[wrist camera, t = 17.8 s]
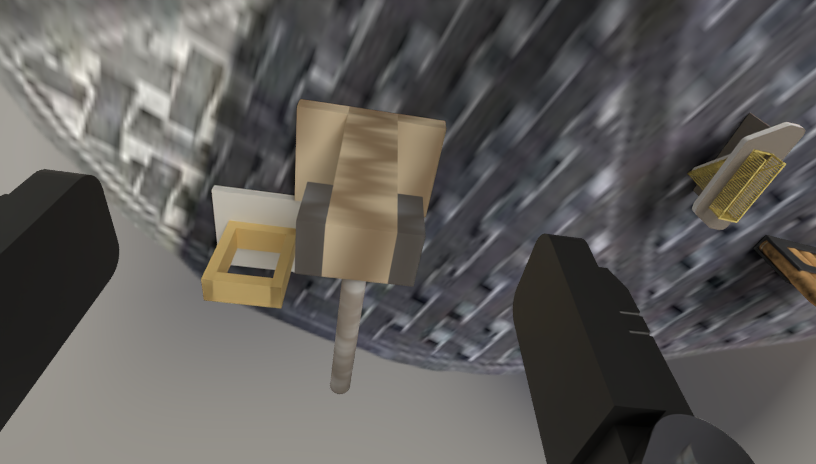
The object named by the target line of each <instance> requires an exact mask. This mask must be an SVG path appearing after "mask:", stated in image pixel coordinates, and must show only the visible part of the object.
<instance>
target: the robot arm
mask: <svg viewBox="0 0 816 464" xmlns="http://www.w3.org/2000/svg"><path fill="white" fill-rule="evenodd" d="M118 259H119V244H118V240H117V236H116V233H115V229H114V226H113V222H112V219H111V216H110V212H109V209H108V205H107V202H106V198H105V195H104V191H103V188H102V185H101V183H100V181H99V180H98V179H97V178H96V177H95V176H92V175H86V174H78V173H70V172H63V171H55V170H47V169H44V170H39V171H37V172H36V173H34V174H33V175H32V176H30V177H29V178H28V179H27V180H25V181H24V182H23V183H22V184H21V185H20V186H18V187H17V188H16V189H14V190H13V191H12V192H11V193H10V194H4V195H2V196H0V431H1V430H2V429H3V427H4V426H5V424H6V423H7V421H8V420H9V419H10V417H11V416H12V415H13V413H14V412H15V410H16V409H17V408H18V406H19V405H20V404H21V402H22V401H23V399H24V398H25V397H26V395H27V394H28V393H29V391H30V390H31V388H32V387H33V386H34V384H35V383H36V381H37V380H38V378H39V377H40V376H41V375H42V373H43V372H44V370H45V369H46V367H47V366H48V365H49V363H50V362H51V361H52V359H53V358H54V357H55V355H56V354H57V352H58V351H59V349H60V348H61V347H62V345H63V344H64V343H65V341H66V340H67V339H68V337H69V336H70V334H71V333H72V332H73V330H74V329H75V327H76V326H77V324H78V323H79V322H80V320H81V319H82V318H83V316H84V315H85V314H86V312H87V311H88V309H89V308H90V307H91V305H92V304H93V302H94V301H95V300H96V298H97V297H98V296H99V294H100V293H101V291H102V290H103V289H104V287H105V286H106V284H107V283H108V282H109V280H110V279H111V277H112V276H113V274H114V272H115V270H116V267H117V263H118ZM639 313H640V311H639V309H638V308H637V306H636V304H635V302H634V300H633V298H632V296H631V294H630V292H629V290H628V289H627V288H626V287H625V286H624V285H623V284H622V283H621V282H620V281H619V280H618V279H617V278H616V277H615V276H614V275H613V274H612V273H611V272H610V270H609V269H608V268H602V267H598V265H597V263H596V261H595V259H594V257H593V254H592V252H591V250H590V248H589V246H588V244H587V242H586V241H585V240H584V239H582V238H575V237H567V236H559V235H551V234H542V235H541V236H540V237H539V238H538V240H537V241H536V244H535V246H534V248H533V251H532V253H531V255H530V258H529V260H528V263H527V265H526V267H525V270H524V272H523V275H522V277H521V279H520V282H519V284H518V287H517V289H516V292H515V296H514V302H513V320H514V325H515V329H516V333H517V338H518V342H519V346H520V350H521V355H522V359H523V363H524V368H525V372H526V376H527V380H528V385H529V389H530V393H531V398H532V402H533V406H534V410H535V415H536V419H537V423H538V428H539V432H540V436H541V440H542V445H543V449H544V453H545V457H546V462H547V464H755V463H754V462H753V461H752V459H751V458H750V457H749V455H748V454H747V453H746V452H745V451H744V449H743V448H742V447H741V446H740V445H739V444H738V443H737V442H736V441H734V440H733V439H732V438H731V437H730V436H729V435H727V434H726V433H725V432H723V431H722V430H720V429H719V428H718V427H716V426H714V425H712V424H711V423H709V422H707V421H704V420H702V419H700V418H697V417H695V416H694V415H693V413H692V411H691V409H690V407H689V405H688V403H687V402H686V400H685V398H684V396H683V394H682V392H681V390H680V388H679V386H678V384H677V382H676V380H675V379H674V377H673V375H672V373H671V371H670V369H669V367H668V365H667V363H666V361H665V359H664V357H663V356H662V354H661V352H660V350H659V348H658V346H657V344H656V342H655V340H654V338H653V336H650V335H649V332H650V331H649V329H648V327H647V325H646V323H645V321H644V319H643V317H641V316H639Z"/></svg>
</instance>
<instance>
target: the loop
mask: <svg viewBox="0 0 816 464" xmlns="http://www.w3.org/2000/svg"><path fill="white" fill-rule="evenodd" d="M295 240H296V229H295V228H287V227H279V226H271V225H263V224H255V223H247V222H239V221H231V220H229V222H228V224H227V226H226V228H225V230H224V232H223V234H222V236H221V239H220V241H219V243H218V245H217V247H216V249H215V251H214V253H213V255H212V257H211V259H210V261H209V264H208V266H207V268H206V270H205V272H204V274H203V276H202V278H201V282H202V290H203V297H204V300H206V301H215V302H225V303H234V304H244V305H253V306H263V307H273V308H281V307H282V303H283V300H284V296H285V292H286V288H287V284H288V281H289V277H290V273H291V269H292V266H293V262H294V258H295ZM237 248H239V249H248V250H256V251H265V252H273V253H280V256H279V260H278V263H277V266H276V269H275V273H274V276H273V278H266V277H257V276H248V275H240V274H231V273H227V272H228V269H229V267H230V265H231V262H232V260H233V258H234V255H235V253H236V251H237Z"/></svg>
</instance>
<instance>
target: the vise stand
mask: <svg viewBox="0 0 816 464" xmlns="http://www.w3.org/2000/svg"><path fill="white" fill-rule="evenodd" d="M445 133H446V124H445V121H442V120H436V119H429V118H422V117H416V116H409V115H403V114H396V113H389V112H383V111H376V110H370V109H363V108H356V107H350V106H343V105H337V104H330V103H323V102H317V101H310V100H304V99H300V100H299V103H298V105H297V126H296V169H295V201H301V205H300V208H299V212H298V215H297V219H296V240H295V274H304V275H313V276H322V277H331V278H340V279H342V284H341V293H340V302H339V311H338V320H337V329H336V338H335V347H334V357H333V365H332V374H331V383H330V387H331V390H332V391H333V392H334V393H337V394H343V393H345V392H347V391H348V390H349V388H350V382H351V375H352V369H353V363H354V356H355V350H356V343H357V337H358V331H359V324H360V318H361V311H362V305H363V299H364V292H365V286H366V281H368V282H377V283H386V284H395V285H404V286H413V285H414V281H415V277H416V273H417V269H418V265H419V261H420V257H421V253H422V248H423V244H424V240H425V223H424V217H426V213H427V209H428V205H429V200H430V196H431V192H432V188H433V184H434V179H435V175H436V171H437V167H438V162H439V158H440V154H441V150H442V145H443V141H444V137H445Z"/></svg>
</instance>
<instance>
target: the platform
mask: <svg viewBox="0 0 816 464" xmlns="http://www.w3.org/2000/svg"><path fill="white" fill-rule="evenodd" d="M804 133H805V129H804V128H802V127H801V126H799V125H797V124H793V123H789V122H785V123H782V124H779V125H776V126H773V127H770V126H769V125H767V124H766V123H765V122H763V121H762V120H760V119H759V118H757V117H756V116H755V115H753V114H752V113H749V114H748V116H747V117H746V118H745V120H744V121H743V122H742V124H741V125H740V127H739V128H738V129H737V131H736V132H735V133H734V135H733V136H732V137H731V139H730V140H729V142H728V143H727V144H726V146H725V147H724V148H723V150H722V151H721V152H720V154H719V155H718V157H717V158H716V159H715V160H713V161H710V162H707V163H705V164H702V165H699V166H697V167H694V168H693V170H692V171H691V172H690V171H689V173H687V174H688V175H689V176H690V177H691V178H692V179H693V180H694V181H695V182H696V183H697V185H696V187H695V188H694V189H693V191H694V192H695V193H696V194H697V195H698V196H699V197H698V198H697V200H696V201H695V202H694V204H693V207H692V210H693V211H694V213H695V214H696V215H697V216H698V217H699V218H700V219H701V220H702V221H703V222H704V223H705V224H706V225H707V226H709V227H710V228H713V229H718V230H723V229H725V228H726V227H727V226H728V225H729V224H730V223H731V222H735V223H737V222H738V221H739V220H740V218H741V217H742V216H743V215H744V214H745V212H746V211H747V210H748V209H749V208H750V206H751V205H752V204H753V203H754V202H755V201H756V199H757V198H758V197H759V196H760V195H761V193H762V192H763V191H764V190H765V189H766V187H767V186H768V185H769V184H770V183H771V182H772V180H773V179H774V178H775V177H776V176H777V174H778V173H779V172H780V171H781V170H782V168H783V167H784V166H785V165H786V163H784V162H783V161H782V160H783V159H784V158H785V157H786V156H787V154H788V153H789V152H790V151H791V149H792V148H793V147H794V146H795V145H796V143H797V142H798V141H799V140H800V139H801V137H802V136H803V135H804ZM780 163H781V164H780ZM781 165H783V166H781ZM778 166H780V167H781V168H779V167H778ZM776 168H778V169H779V171H778V170H777V169H776ZM774 170H776V171H777V173H776V172H775V171H774ZM772 172H774V173H776V174H773V173H772ZM771 174H772V175H774V177H773V176H771ZM691 175H692V176H693V177H694V178H695V179H696V180H697V181H698V182H699V183H698V182H697V181H696V180H695V179H694V178H693V177H692V176H691ZM695 176H696V177H697V178H698V179H699V180H700V181H699V180H698V179H697V178H696V177H695ZM769 176H771V177H772V179H771V178H770V177H769ZM699 177H700V178H701V179H700V178H699ZM767 178H769V179H770V181H769V180H768V179H767ZM766 180H767V181H768V183H767V182H766ZM764 182H765V183H766V184H767V185H765V184H764ZM762 184H763V185H765V187H764V186H763V185H762ZM761 186H762V187H763V189H762V188H761ZM759 188H760V189H761V190H762V191H760V190H759ZM757 190H758V191H759V192H760V193H759V192H758V191H757ZM756 192H757V193H758V195H757V194H756ZM754 194H755V195H756V196H757V197H755V196H754ZM752 196H753V197H754V198H755V199H754V198H753V197H752ZM751 198H752V199H753V201H752V200H751ZM749 200H750V201H751V202H752V203H751V202H750V201H749ZM747 202H749V203H750V205H749V204H748V203H747ZM746 204H747V205H748V206H747V205H746ZM744 206H746V207H747V209H746V208H745V207H744ZM743 208H744V209H745V210H744V209H743ZM741 210H743V211H744V212H742V211H741ZM740 212H741V213H742V214H741V213H740ZM738 213H739V214H740V215H741V216H739V215H738ZM737 215H738V216H739V218H738V217H737ZM735 217H736V218H737V219H736V218H735ZM735 220H736V221H735Z"/></svg>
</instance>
